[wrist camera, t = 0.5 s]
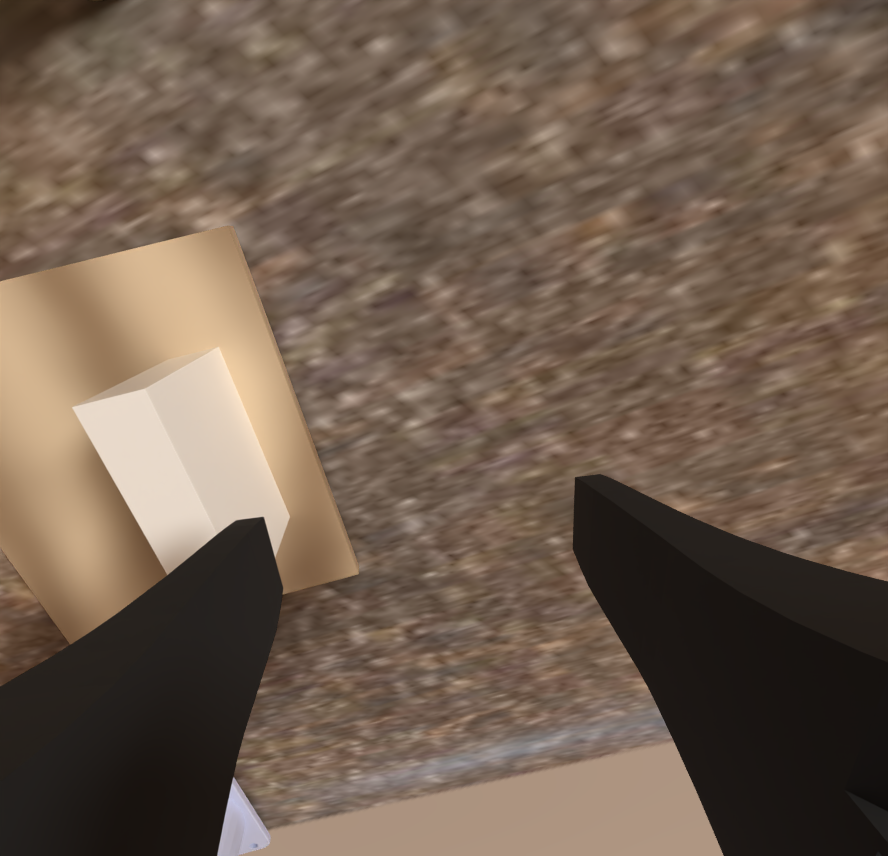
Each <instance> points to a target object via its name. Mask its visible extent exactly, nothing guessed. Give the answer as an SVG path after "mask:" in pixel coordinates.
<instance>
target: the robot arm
mask: <svg viewBox="0 0 888 856" xmlns="http://www.w3.org/2000/svg"><path fill="white" fill-rule="evenodd" d="M573 551H574V553H575V556H576V558H577V560H578V563H579V565H580V568H581V570H582V572H583V575H584V577H585V579H586V581H587V584H588V586H589V588H590V589H591V591H592V593H593V595H594V596H595V598H596V600H597V601H598V603H599V605H600V607H601V608H602V610H603V612H604V613H605V615H606V617H607V618H608V620H609V622H610V623H611V625H612V627H613V628H614V630H615V632H616V633H617V635H618V637H619V638H620V640H621V642H622V643H623V645H624V647H625V648H626V650H627V652H628V653H629V655H630V657H631V658H632V660H633V662H634V663H635V665H636V667H637V668H638V670H639V672H640V674H641V675H642V677H643V679H644V681H645V683H646V685H647V686H648V688H649V690H650V692H651V694H652V696H653V698H654V700H655V702H656V704H657V707H658V709H659V711H660V713H661V715H662V717H663V719H664V721H665V723H666V725H667V728H668V730H669V732H670V734H671V736H672V738H673V740H674V742H675V745H676V747H677V749H678V751H679V753H680V756H681V758H682V760H683V762H684V764H685V767H686V769H687V771H688V774H689V776H690V778H691V780H692V782H693V784H694V787H695V789H696V791H697V794H698V796H699V798H700V801H701V803H702V805H703V808H704V810H705V812H706V815H707V817H708V820H709V822H710V824H711V826H712V829H713V831H714V834H715V836H716V838H717V841H718V843H719V845H720V848H721V850H722V853H723V855H724V856H888V582H887V581H883V580H879V579H875V578H871V577H867V576H863V575H859V574H855V573H851V572H847V571H844V570H840V569H837V568H833V567H830V566H826V565H823V564H819V563H816V562H812V561H808V560H805V559H802V558H799V557H796V556H792V555H789V554H786V553H783V552H780V551H777V550H774V549H771V548H769V547H766V546H763V545H760V544H757V543H754V542H751V541H749V540H746V539H743V538H741V537H738V536H735V535H733V534H730V533H728V532H725V531H723V530H721V529H718V528H716V527H713V526H711V525H709V524H706V523H704V522H702V521H699V520H697V519H695V518H693V517H690V516H688V515H686V514H684V513H682V512H679V511H677V510H675V509H673V508H671V507H669V506H667V505H665V504H663V503H661V502H659V501H656V500H654V499H652V498H650V497H648V496H646V495H644V494H642V493H640V492H638V491H636V490H634V489H632V488H630V487H628V486H626V485H624V484H622V483H620V482H618V481H616V480H613V479H611V478H609V477H606V476H604V475H601V474H598V475H590V476H582V477H575V495H574V527H573ZM282 595H283V585H282V581H281V578H280V574H279V570H278V567H277V563H276V559H275V556H274V552H273V548H272V544H271V541H270V537H269V533H268V530H267V526H266V522H265V519H264V517H257V518H249V519H241V520H236V521H234V522H233V523H231V524H230V525H229V526H227V527H226V528H225V529H223V530H222V531H221V532H219V533H218V534H217V535H216V536H214V537H213V538H212V539H211V540H210V541H208V542H207V543H206V544H205V545H204V546H202V547H201V548H200V549H199V550H197V551H196V552H195V553H194V554H193V555H191V556H190V557H189V558H188V559H186V560H185V561H184V562H183V563H182V564H180V565H179V566H178V567H177V568H175V569H174V570H173V571H172V572H170V573H169V574H168V575H167V576H166V577H164V578H163V579H162V580H160V581H159V582H158V583H156V584H155V585H154V586H152V587H151V588H150V589H148V590H147V591H146V592H145V593H143V594H142V595H141V596H139V597H138V598H137V599H135V600H134V601H133V602H131V603H130V604H129V605H127V606H126V607H125V608H123V609H122V610H121V611H119V612H118V613H117V614H115V615H114V616H112V617H111V618H110V619H108V620H107V621H105V622H104V623H102V624H101V625H99V626H98V627H97V628H95V629H94V630H92V631H91V632H89V633H88V634H86V635H85V636H83V637H81V638H80V639H78V640H77V641H75V642H74V643H72V644H71V645H69V646H68V647H66V648H65V649H63V650H62V651H60V652H58V653H57V654H55V655H54V656H52V657H50V658H49V659H47V660H45V661H44V662H42V663H40V664H39V665H37V666H35V667H33V668H32V669H30V670H28V671H27V672H25V673H23V674H21V675H20V676H18V677H16V678H14V679H13V680H11V681H9V682H8V683H6V684H4V685H2V686H1V687H0V856H238V855H240V854H244V853H247V852H251V851H254V850H257V849H261V848H264V847H267V846H268V845H269V843H270V838H271V836H270V834H269V832H268V831H267V829H266V827H265V826H264V824H263V823H262V821H261V819H260V818H259V816H258V815H257V813H256V812H255V810H254V808H253V807H252V805H251V804H250V802H249V800H248V799H247V797H246V796H245V794H244V793H243V791H242V789H241V788H240V786H239V785H238V783H237V781H236V780H235V778H234V777H233V776H234V771H235V767H236V762H237V758H238V754H239V750H240V747H241V743H242V739H243V736H244V732H245V729H246V726H247V723H248V720H249V716H250V713H251V710H252V707H253V704H254V701H255V698H256V694H257V691H258V688H259V685H260V682H261V679H262V675H263V672H264V669H265V666H266V663H267V660H268V656H269V653H270V650H271V647H272V643H273V640H274V637H275V633H276V630H277V624H278V619H279V614H280V608H281V601H282Z"/></svg>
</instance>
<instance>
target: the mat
mask: <svg viewBox="0 0 888 856" xmlns="http://www.w3.org/2000/svg"><path fill="white" fill-rule="evenodd" d="M216 347H219V349H220V351H221V353H222V356H223V358H224V361H225V363H226V365H227V368H228V370H229V372H230V375H231V377H232V380H233V382H234V384H235V387H236V389H237V392H238V394H239V396H240V399H241V401H242V403H243V406H244V408H245V411H246V413H247V415H248V418H249V420H250V423H251V425H252V427H253V430H254V432H255V434H256V437H257V439H258V442H259V444H260V446H261V449H262V451H263V454H264V456H265V458H266V461H267V463H268V465H269V468H270V470H271V473H272V475H273V477H274V480H275V482H276V485H277V487H278V489H279V492H280V494H281V496H282V499H283V501H284V504H285V506H286V508H287V511H288V513H289V516H290V518H289V521H288V524H287V526H286V529H285V532H284V535H283V538H282V540H281V543H280V546H279V549H278V552H277V554H276V557H275V559H276V563H277V567H278V570H279V574H280V578H281V581H282V585H283V594H287V593H290V592H294V591H298V590H301V589H305V588H309V587H313V586H316V585H320V584H324V583H327V582H331V581H335V580H339V579H342V578H346V577H350V576H353V575H357V574H359V565H358V562H357V559H356V557H355V554H354V551H353V548H352V546H351V543H350V540H349V538H348V535H347V532H346V530H345V527H344V524H343V521H342V519H341V516H340V513H339V511H338V508H337V505H336V503H335V500H334V497H333V494H332V492H331V489H330V486H329V484H328V481H327V478H326V476H325V473H324V470H323V467H322V465H321V462H320V459H319V457H318V454H317V451H316V449H315V446H314V443H313V440H312V438H311V435H310V432H309V430H308V427H307V424H306V422H305V419H304V416H303V413H302V411H301V408H300V405H299V403H298V400H297V397H296V395H295V392H294V389H293V386H292V384H291V381H290V378H289V376H288V373H287V370H286V368H285V365H284V362H283V359H282V357H281V354H280V351H279V349H278V346H277V343H276V341H275V338H274V335H273V332H272V330H271V327H270V324H269V322H268V319H267V316H266V314H265V311H264V308H263V305H262V303H261V300H260V297H259V295H258V292H257V289H256V287H255V284H254V281H253V278H252V276H251V273H250V270H249V268H248V265H247V262H246V260H245V257H244V254H243V251H242V249H241V246H240V243H239V241H238V238H237V235H236V233H235V230H234V227H233V226H224V227H220V228H216V229H212V230H208V231H204V232H200V233H196V234H192V235H188V236H184V237H180V238H175V239H171V240H167V241H163V242H159V243H155V244H151V245H147V246H143V247H139V248H135V249H131V250H127V251H122V252H118V253H114V254H110V255H106V256H102V257H98V258H94V259H90V260H86V261H82V262H78V263H74V264H70V265H65V266H61V267H57V268H53V269H49V270H45V271H41V272H37V273H33V274H29V275H25V276H21V277H17V278H12V279H8V280H4V281H0V548H1V549H2V551H3V552H4V553H5V555H6V556H7V558H8V559H9V560H10V562H11V563H12V565H13V566H14V567H15V569H16V570H17V571H18V573H19V574H20V576H21V577H22V578H23V580H24V581H25V583H26V584H27V585H28V587H29V588H30V590H31V591H32V592H33V594H34V595H35V596H36V598H37V599H38V601H39V602H40V603H41V605H42V606H43V608H44V609H45V610H46V612H47V613H48V615H49V616H50V617H51V619H52V620H53V621H54V623H55V624H56V626H57V627H58V628H59V630H60V631H61V633H62V634H63V635H64V637H65V638H66V640H67V641H68V642H69V644H70V645H71V644H72V643H74V642H75V641H77V640H78V639H80V638H81V637H83V636H85V635H86V634H88V633H89V632H91V631H92V630H94V629H95V628H97V627H98V626H99V625H101V624H102V623H104V622H105V621H107V620H108V619H110V618H111V617H112V616H114V615H115V614H117V613H118V612H119V611H121V610H122V609H123V608H125V607H126V606H127V605H129V604H130V603H131V602H133V601H134V600H135V599H137V598H138V597H139V596H141V595H142V594H143V593H145V592H146V591H147V590H148V589H150V588H151V587H152V586H154V585H155V584H156V583H158V582H159V581H160V580H162V579H163V578H164V577H166V576H167V573H166V572H165V570H164V568H163V566H162V565H161V563H160V561H159V559H158V558H157V556H156V554H155V552H154V551H153V549H152V547H151V545H150V544H149V542H148V540H147V538H146V536H145V535H144V533H143V531H142V529H141V528H140V526H139V524H138V522H137V521H136V519H135V517H134V515H133V514H132V512H131V510H130V508H129V507H128V505H127V503H126V501H125V500H124V498H123V496H122V494H121V493H120V491H119V489H118V487H117V486H116V484H115V482H114V480H113V479H112V477H111V475H110V473H109V472H108V470H107V468H106V466H105V464H104V463H103V461H102V459H101V457H100V456H99V454H98V452H97V450H96V449H95V447H94V445H93V443H92V442H91V440H90V438H89V436H88V435H87V433H86V431H85V429H84V428H83V426H82V424H81V422H80V421H79V419H78V417H77V415H76V414H75V412H74V410H73V408H72V407H73V406H75V405H77V404H79V403H81V402H83V401H85V400H87V399H89V398H91V397H93V396H96V395H98V394H100V393H102V392H104V391H106V390H108V389H110V388H112V387H114V386H116V385H118V384H120V383H122V382H124V381H126V380H128V379H130V378H132V377H134V376H136V375H138V374H140V373H142V372H144V371H146V370H148V369H150V368H152V367H154V366H156V365H158V364H160V363H162V362H164V361H166V360H168V359H172V358H176V357H180V356H184V355H188V354H192V353H196V352H200V351H204V350H208V349H212V348H216Z"/></svg>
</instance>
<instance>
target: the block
mask: <svg viewBox="0 0 888 856" xmlns="http://www.w3.org/2000/svg"><path fill="white" fill-rule="evenodd" d="M72 408H73V410H74V412H75V414H76V415H77V417H78V419H79V421H80V422H81V424H82V426H83V428H84V429H85V431H86V433H87V435H88V436H89V438H90V440H91V442H92V443H93V445H94V447H95V449H96V450H97V452H98V454H99V456H100V457H101V459H102V461H103V463H104V464H105V466H106V468H107V470H108V472H109V473H110V475H111V477H112V479H113V480H114V482H115V484H116V486H117V487H118V489H119V491H120V493H121V494H122V496H123V498H124V500H125V501H126V503H127V505H128V507H129V508H130V510H131V512H132V514H133V515H134V517H135V519H136V521H137V522H138V524H139V526H140V528H141V529H142V531H143V533H144V535H145V536H146V538H147V540H148V542H149V544H150V545H151V547H152V549H153V551H154V552H155V554H156V556H157V558H158V559H159V561H160V563H161V565H162V566H163V568H164V570H165V572H166V573H167V575H168V574H169V573H170V572H172V571H173V570H174V569H175V568H177V567H178V566H179V565H180V564H182V563H183V562H184V561H185V560H186V559H188V558H189V557H190V556H191V555H193V554H194V553H195V552H196V551H197V550H199V549H200V548H201V547H202V546H204V545H205V544H206V543H207V542H208V541H210V540H211V539H212V538H213V537H214V536H216V535H217V534H218V533H219V532H221V531H222V530H223V529H225V528H226V527H227V526H229V525H230V524H231V523H233V522H234V521H236V520H241V519H249V518H257V517H264V519H265V522H266V526H267V530H268V533H269V537H270V541H271V544H272V548H273V552H274V556H275V557H276V554H277V552H278V549H279V546H280V543H281V540H282V538H283V535H284V532H285V529H286V526H287V524H288V521H289V518H290V516H289V513H288V511H287V508H286V506H285V504H284V501H283V499H282V496H281V494H280V492H279V489H278V487H277V485H276V482H275V480H274V477H273V475H272V473H271V470H270V468H269V465H268V463H267V461H266V458H265V456H264V454H263V451H262V449H261V446H260V444H259V442H258V439H257V437H256V434H255V432H254V430H253V427H252V425H251V423H250V420H249V418H248V415H247V413H246V411H245V408H244V406H243V403H242V401H241V399H240V396H239V394H238V392H237V389H236V387H235V384H234V382H233V380H232V377H231V375H230V372H229V370H228V368H227V365H226V363H225V361H224V358H223V356H222V353H221V351H220V349H219V347H216V348H212V349H208V350H204V351H200V352H196V353H192V354H188V355H184V356H180V357H176V358H172V359H168V360H166V361H164V362H162V363H160V364H158V365H156V366H154V367H152V368H150V369H148V370H146V371H144V372H142V373H140V374H138V375H136V376H134V377H132V378H130V379H128V380H126V381H124V382H122V383H120V384H118V385H116V386H114V387H112V388H110V389H108V390H106V391H104V392H102V393H100V394H98V395H96V396H93V397H91V398H89V399H87V400H85V401H83V402H81V403H79V404H77V405H75V406H73V407H72Z"/></svg>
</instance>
